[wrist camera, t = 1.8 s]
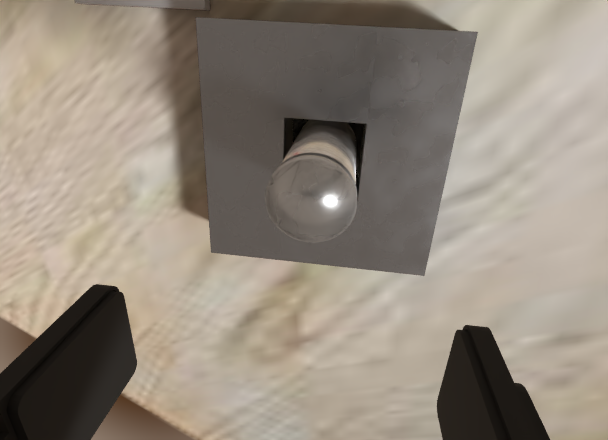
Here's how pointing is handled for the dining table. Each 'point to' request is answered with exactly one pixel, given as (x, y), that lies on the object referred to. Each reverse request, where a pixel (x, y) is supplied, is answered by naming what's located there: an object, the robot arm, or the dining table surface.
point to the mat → (153, 3)
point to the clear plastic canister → (315, 183)
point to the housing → (331, 107)
